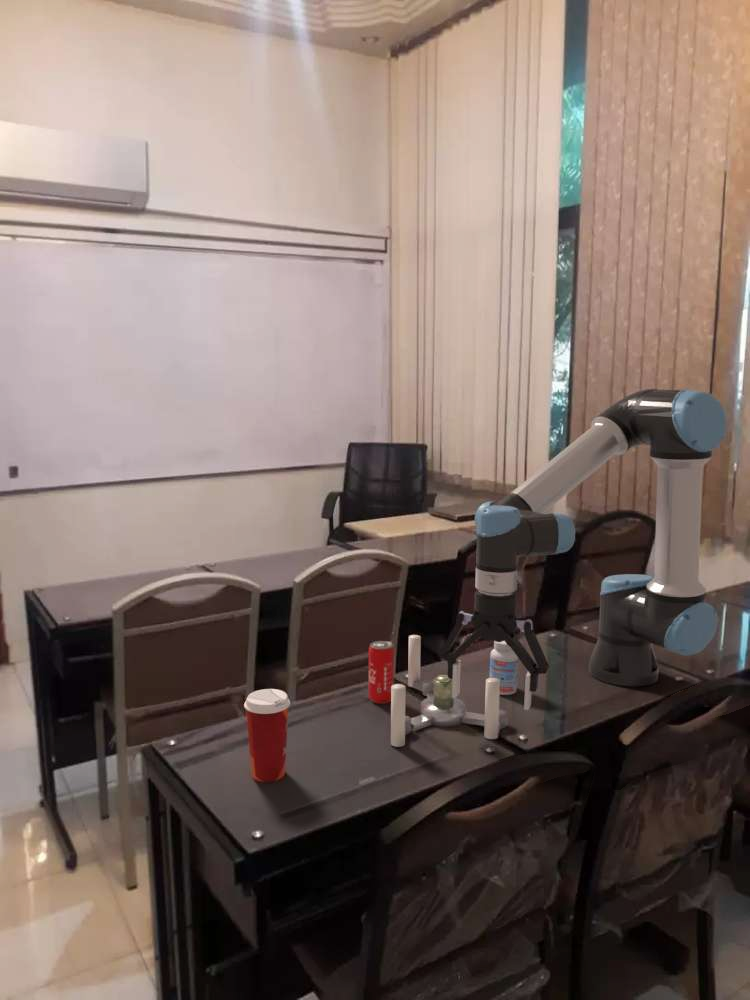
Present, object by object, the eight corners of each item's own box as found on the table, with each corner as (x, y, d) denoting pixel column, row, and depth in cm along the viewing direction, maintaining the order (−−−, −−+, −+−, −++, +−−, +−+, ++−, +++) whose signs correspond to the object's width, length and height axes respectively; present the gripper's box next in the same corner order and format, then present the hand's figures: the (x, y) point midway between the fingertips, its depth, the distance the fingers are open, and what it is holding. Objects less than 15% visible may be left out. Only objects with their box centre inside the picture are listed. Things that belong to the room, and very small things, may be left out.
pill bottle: (486, 693, 168) (488, 643, 166) (491, 683, 174) (493, 634, 172) (515, 697, 166) (516, 646, 164) (519, 686, 172) (521, 637, 170)
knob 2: (490, 719, 155) (492, 665, 153) (508, 722, 154) (510, 668, 152) (480, 737, 147) (481, 681, 145) (499, 741, 146) (500, 684, 144)
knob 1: (393, 725, 152) (393, 671, 150) (411, 727, 151) (412, 672, 150) (387, 746, 144) (387, 689, 142) (406, 748, 143) (407, 690, 141)
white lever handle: (443, 694, 167) (444, 644, 165) (430, 698, 165) (431, 647, 163) (416, 681, 174) (416, 633, 172) (403, 685, 172) (404, 636, 170)
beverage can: (390, 705, 162) (391, 649, 160) (366, 703, 163) (366, 647, 161) (395, 695, 167) (395, 641, 165) (371, 693, 168) (371, 639, 166)
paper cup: (300, 773, 134) (299, 695, 132) (265, 790, 129) (264, 710, 126) (270, 758, 139) (269, 683, 137) (235, 774, 134) (233, 696, 131)
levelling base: (471, 696, 167) (472, 659, 165) (491, 726, 153) (493, 686, 151) (394, 700, 164) (394, 663, 163) (407, 731, 150) (407, 690, 149)
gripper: (424, 588, 144) (421, 697, 147) (562, 604, 135) (555, 720, 139) (436, 578, 151) (433, 683, 154) (568, 593, 142) (561, 704, 145)
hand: (491, 701), depth 146 cm, fingers open, 13 cm apart
